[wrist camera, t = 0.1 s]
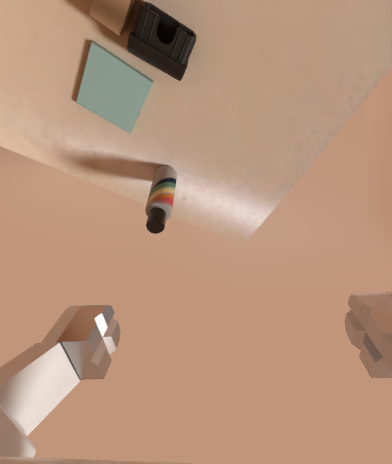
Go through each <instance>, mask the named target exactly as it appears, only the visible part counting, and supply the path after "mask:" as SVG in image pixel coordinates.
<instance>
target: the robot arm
mask: <svg viewBox="0 0 392 464" xmlns="http://www.w3.org/2000/svg"><path fill="white" fill-rule="evenodd" d="M348 305H349V306H350V308H351V310H350V311H349V312H348V313H347V314H346V317H345V327H346V332H347V335H348V337H349V339H350V341H351V343H352V344H353V345H354V346H356V347H357V348H358V349H360V350H361V352H360V356H359V357H360V359H361V361H362V362H363V364H364V366H365V368H366V369H367V371H368V373H369V375H370V376H371V378H372V377H374V378H392V292H386V293H370V294H352V295H351V296H350V297H349V301H348ZM113 315H114V311H113V308H112V306H109V305H90V306H70V307H68V308H67V309H66V310H65V311H64V313H63V314H62V315H61V317H60V318H59V319H58V321H57V322H56V323H55V325H54V326H53V327H52V329H51V330H50V331H49V333H48V334H47V335H46V337H45V338H44V339H43V341H42V342H41V343H36V344H35V345H33V346H32V347H30V348H29V349H27V350H26V351H24V352H23V353H21V354H20V355H18V356H17V357H15V358H14V359H12V360H11V361H9V362H8V363H6V364H5V365H3V366H2V367H0V464H187V463H161V462H135V461H134V462H133V461H109V460H108V461H107V460H83V459H57V458H33V456H34V454H35V452H36V448H35V445H34V444H33V443H32V441H31V440H30V439H29V438H28V437H27V436H28V434H30V432H31V431H32V430H33V429H34V428H35V427H36V426H37V425H38V424H39V423H40V422H41V421H42V420H43V419H44V418H45V417H46V416H47V415H48V414H49V413H50V412H51V411H52V410H53V409H54V408H55V407H56V406H57V404H58V403H59V402H60V401H61V400H62V399H63V398H64V397H65V396H66V395H67V394H68V393H69V392H70V391H71V390H72V389H73V388H74V387H75V386H76V385H77V384H78V383H79V382H80V380H84V379H104V377H105V375H106V372H107V370H108V368H109V365H110V363H111V358H110V354H111V353H112V352H113V351H115V350H116V348H117V346H118V343H119V338H120V327H119V324H118V322H117V321H116V320H114V319H113V318H112V317H113Z"/></svg>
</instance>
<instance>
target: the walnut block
mask: <svg viewBox="0 0 392 464" xmlns="http://www.w3.org/2000/svg"><path fill="white" fill-rule="evenodd" d="M135 2H136V0H92V2H91V6H90V11H89V15H90V16H92V17H93V18H94V19H96V20H97V21H99V22H100V23H102V24H103V25H104V26H106V27H107V28H109V29H110V30H112V31H113V32H114V33H116V34H117V35H119V36H120V35H121V34H123V33H124V32H126V30H127V27H128V24H129V21H130V18H131V15H132V12H133V9H134V5H135Z"/></svg>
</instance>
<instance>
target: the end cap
mask: <svg viewBox="0 0 392 464" xmlns="http://www.w3.org/2000/svg"><path fill="white" fill-rule="evenodd" d="M195 42H196V34H195V33H194V32H193V31H192V30H190V29H189V28H187V27H186V26H184V25H183V24H181V23H180V22H178V21H177V20H175V19H174V18H172V17H171V16H169V15H168V14H166V13H165V12H163V11H162V10H160V9H159V8H157V7H156V6H154V5H153V4H151V3H147V2H145V3H143V4H141V6H140V9H139V13H138V17H137V21H136V25H135V28H134V30H133V31H132V32H131V33H130V35H129V39H128V45H127V49H128V51H129V52H130V53H132V54H134V55H136V56H137V57H139V58H141V59H142V60H144V61H146V62H148V63H149V64H151V65H153V66H155V67H156V68H158V69H160V70H161V71H163V72H165V73H167V74H168V75H170V76H172V77H173V78H175V79H177V80H179V81H181V79H182V77H183V75H184V73H185V70H186V68H187V64H188V58H189V56H190V54H191V51H192V49H193V46H194V44H195Z"/></svg>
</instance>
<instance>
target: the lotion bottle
mask: <svg viewBox="0 0 392 464" xmlns="http://www.w3.org/2000/svg"><path fill="white" fill-rule="evenodd" d="M176 179H177V174H176V171H175V170H174V169H173V168H172V167H170V166H160V167H159V168H158V169H157V170H156V172H155V175H154V179H153V183H152V186H151V190H150V194H149V198H148V201H147V205H146V214H147V216H148V220H147V224H146V227H147V229H148V230H149V231H150V232H151V233H154V234H156V233H160V232H162V231H163V230H164V228H165V222H166V220H167V219H169V218H170V216H171V212H172V206H173V199H174V192H175V186H176Z"/></svg>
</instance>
